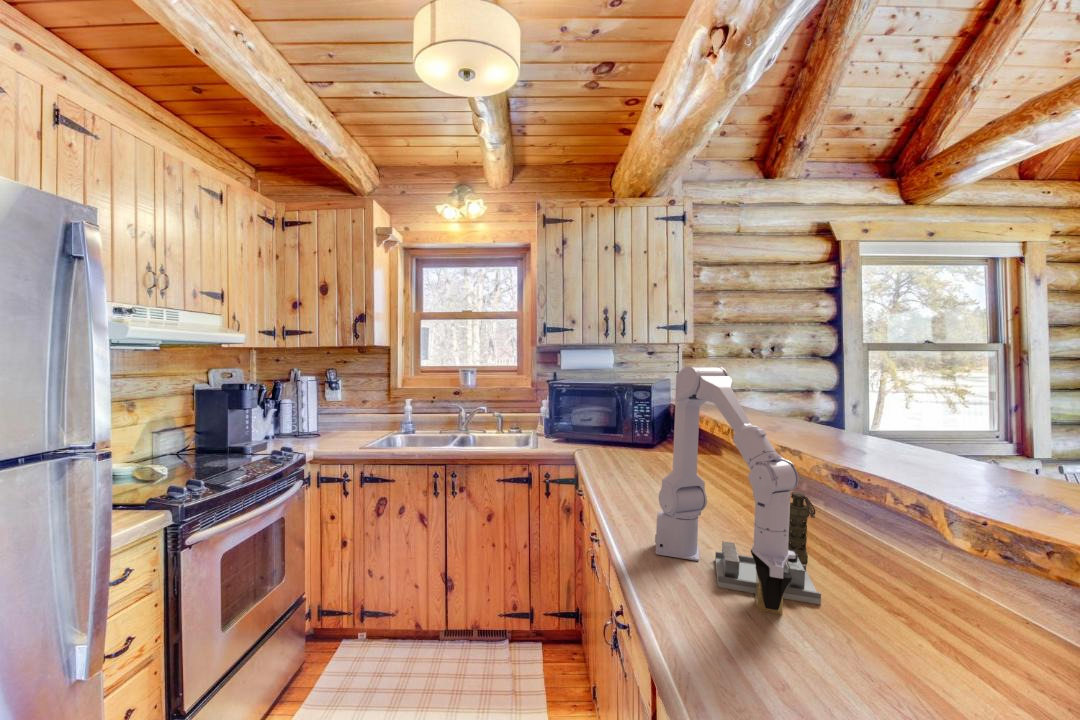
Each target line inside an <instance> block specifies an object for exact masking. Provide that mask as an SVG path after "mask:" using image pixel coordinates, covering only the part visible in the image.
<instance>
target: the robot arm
mask: <svg viewBox="0 0 1080 720" xmlns="http://www.w3.org/2000/svg"><path fill="white" fill-rule="evenodd" d="M675 376H676V377H675V380H676V381H675V398H674V399H675V406H674V407H675V408H674V428H673V429H674V430H673V454H672V456H673V457H672V470H671V471H670V473H668V474H667V475H666V476H665V477H664V478H663V479H662V480H661V487H660V490H659V492H658V503H659V506H660V509H661V510H658V511H657V516H656V527H655V528H656V529H655V531H656V532H655V537H654V543H655V555H660V556H665V557H672V558H676V559H684V560H690V561H697V562H698V561H700V546H699V545H698V535H699V534H698V533H699V516H702V511H704V509H706V507H707V503H708V498H707V497H708V496H707V493H706V489H705V483H706V482H705V481H704V480H703V479H702V478H701V477H700V476H699V475H698V455H699V454H698V452H699V431H700V430H699V429H700V412H701V411H700V408H701V406H702V405H704V404H705V403H706V402H709V403H713V404H714V405H715V407H716V409H718V411H719V412H720V414H721V415H722V416H723V418H724V420H725V421H726V422H727V423H728V425H729V426H730V427H731V429H732V430H733V432H734V434H733V437H732V441H733V444H734V445H735V447H736V448H737V450H738V451H739V454H740V455H741V457H742V458H743V460H744V461H745V463H746V465H747V466H748V469H749V470H750V473H748V475H747V476H748V477H747V478H748V482H749V484H750V486H751V488H752V497H753V499H754V500H755V501H754V522H753V525H754V526H753V527H754V528H753V545H752V547H751V549H750V553H751V557H753V558H754V561H755V564H756V567H755V568H756V572H757V574H758V576H759V578H760V581H761V585H762V592H763V600H764V605H765V608H767V609H772V610H778V609H779V606H780V603H781V600H782V596H783V593H784V591H785V589H786V587H787V586H788V584H789V583H790V582H791V580H792V575H791V573H786V572H783V570H784V568H783V567H784V566H785V564H786V562H787V561H788V559H790V558H791V559H795V553H794V552H793V551H789V550H788V542H789V516H790V503H791V497H790V496H791V491H792V492H793V490H795V489H796V487H797V486H798V485H799V473H798V470H797V468H796V467H795V464H794V463H793V462H791V460H788V459H786V458H784V457H783V456H782V455H780V454H778V452H777V450H776V449H775V448H774V446H773V444H772V443H771V442H770V440H769V438H768V437H767V433H766V431H765V430H764V429H762V428H761V427H760V426H758V425H754V424H751V422H750V420H749V418H748V416H747V415H746V412H745V411H744V408H743V407H742V405H741V402H739V399H738V398H737V396H736V394H735V392H734V391H733V378H731V377H730V375H729V373H728V371H727V370H726V369H725V368H724V367H722V366H713V367H712V366H711V367H710V366H688V365H687V366H684V367H683V368H682V369H681V370H679V371H678V373H676V375H675Z"/></svg>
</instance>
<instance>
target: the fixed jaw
mask: <svg viewBox="0 0 1080 720" xmlns="http://www.w3.org/2000/svg"><path fill="white" fill-rule="evenodd" d="M721 552H722V565H723V572H724V577H730V578H736V579H738V576H739V557H738V555H739V553H738V549H737V546H736V544H735V542H730V541H722V544H721Z"/></svg>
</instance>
